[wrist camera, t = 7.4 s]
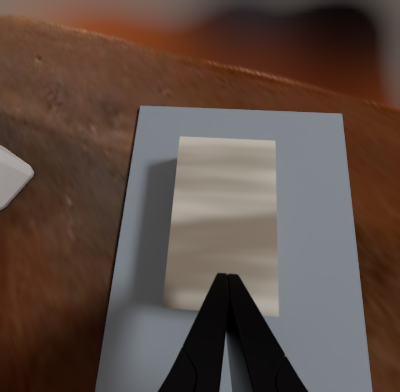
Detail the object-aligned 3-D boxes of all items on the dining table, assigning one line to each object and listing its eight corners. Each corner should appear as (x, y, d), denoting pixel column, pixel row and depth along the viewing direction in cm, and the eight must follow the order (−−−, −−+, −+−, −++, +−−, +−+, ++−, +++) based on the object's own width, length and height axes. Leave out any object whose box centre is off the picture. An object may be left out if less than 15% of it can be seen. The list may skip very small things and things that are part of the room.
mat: (372, 423, 13) (376, 426, 13) (95, 395, 14) (93, 398, 14) (339, 116, 19) (341, 113, 19) (141, 108, 20) (140, 105, 19)
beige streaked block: (279, 316, 12) (275, 140, 15) (162, 307, 12) (179, 136, 15) (265, 306, 15) (264, 160, 18) (170, 299, 15) (184, 156, 18)
